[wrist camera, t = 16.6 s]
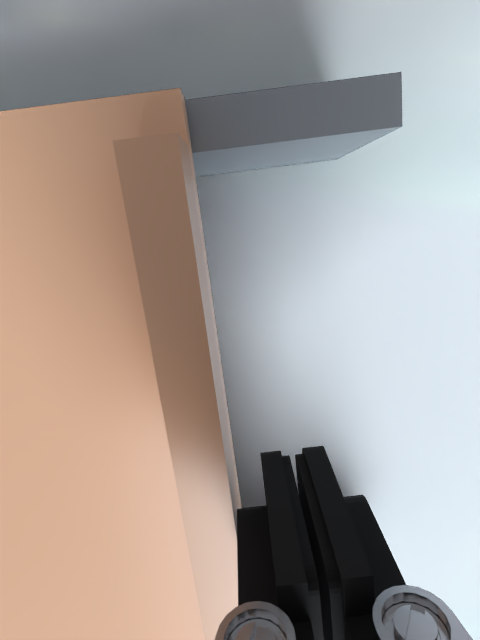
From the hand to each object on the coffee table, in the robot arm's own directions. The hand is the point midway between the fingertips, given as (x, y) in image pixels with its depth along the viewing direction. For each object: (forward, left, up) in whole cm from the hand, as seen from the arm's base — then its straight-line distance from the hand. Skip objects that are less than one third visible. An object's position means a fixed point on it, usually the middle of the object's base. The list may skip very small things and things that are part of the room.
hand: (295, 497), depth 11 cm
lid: (+7, 0, -1) cm, 7 cm away
